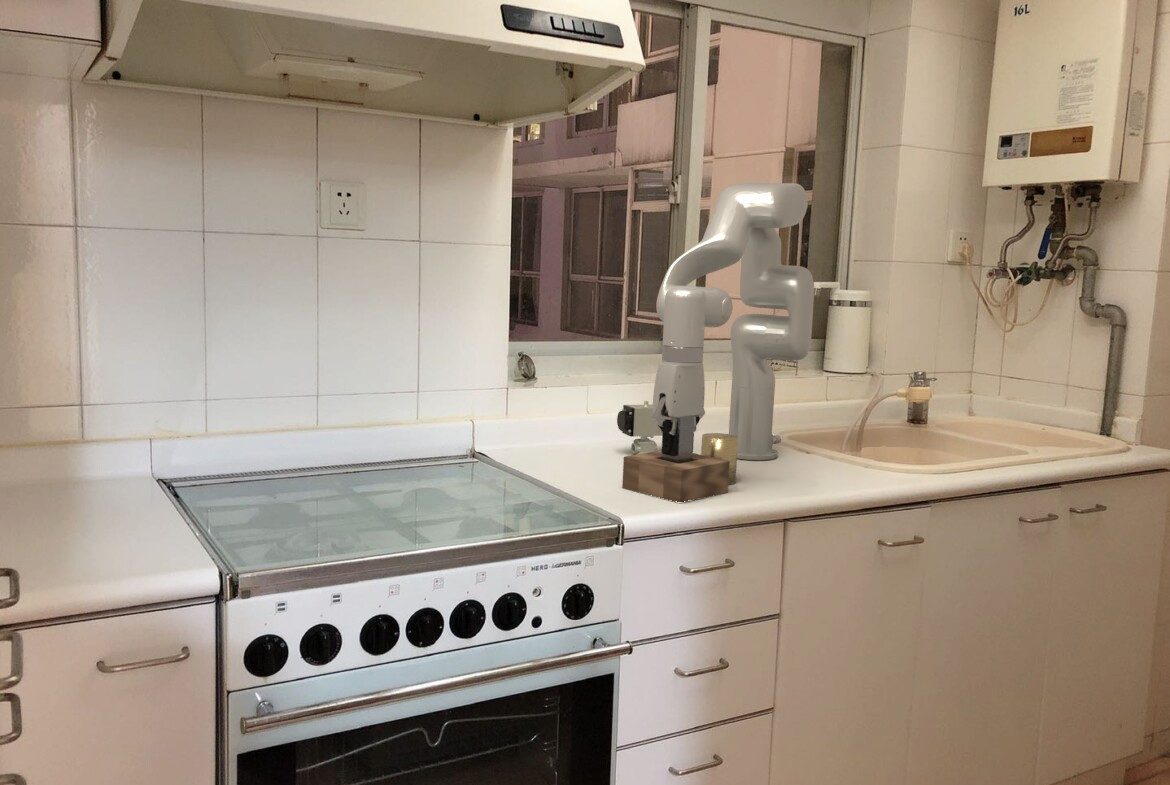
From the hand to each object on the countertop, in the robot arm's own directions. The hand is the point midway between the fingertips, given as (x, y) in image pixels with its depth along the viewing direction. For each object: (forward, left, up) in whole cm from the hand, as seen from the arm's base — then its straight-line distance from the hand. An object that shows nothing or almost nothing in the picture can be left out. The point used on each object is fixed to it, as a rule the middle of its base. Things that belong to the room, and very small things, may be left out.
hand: (677, 452), depth 183 cm
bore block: (0, 0, -7) cm, 7 cm away
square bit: (0, 0, -5) cm, 5 cm away
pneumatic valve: (-20, -26, -7) cm, 34 cm away
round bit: (-13, 0, -7) cm, 15 cm away
